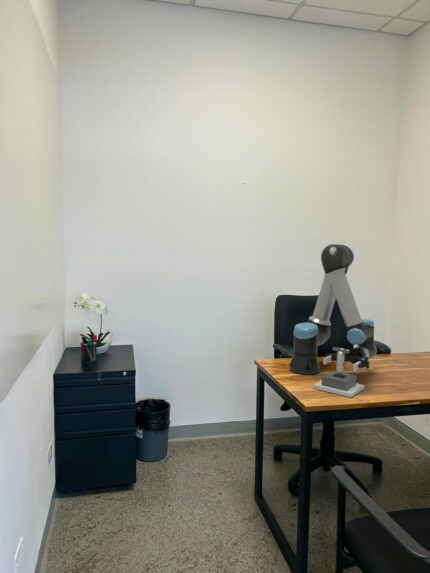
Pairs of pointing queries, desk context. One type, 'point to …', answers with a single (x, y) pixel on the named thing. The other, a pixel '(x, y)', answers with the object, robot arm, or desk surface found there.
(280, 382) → the desk surface
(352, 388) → the chuck block
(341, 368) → the chuck key
